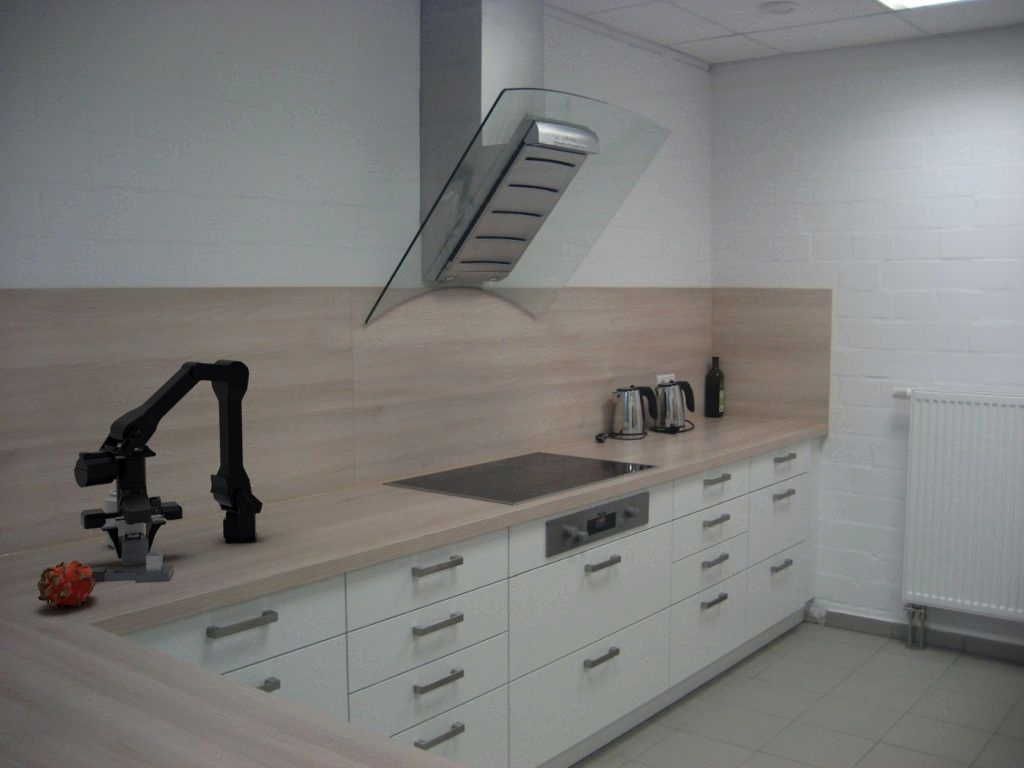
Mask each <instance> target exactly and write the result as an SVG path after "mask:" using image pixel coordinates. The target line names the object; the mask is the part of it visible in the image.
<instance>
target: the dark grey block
mask: <svg viewBox="0 0 1024 768" xmlns="http://www.w3.org/2000/svg"><path fill="white" fill-rule="evenodd" d="M119 542H120V549H121V559H119V558H118V557H117V560H118V562H119V563H120V565H122V567H127V566H135V565H136V566H137V565H141V564H142V565H143V564H146V556H147V554H148V553H149V547H148V538H147V537H146V533H145V532H144V533H141V531H127V532H125V533H124V535H123V536H119Z"/></svg>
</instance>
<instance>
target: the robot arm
mask: <svg viewBox="0 0 1024 768" xmlns="http://www.w3.org/2000/svg"><path fill="white" fill-rule="evenodd" d="M249 380H250V369H249V366H247V365H246V364H245V363H244V362H242V361H240V360H234V359H232V360H231V359H222V358H221V359H218V360H216V361H215V362H214V363H211V362H210V363H208V362H207V363H206V362H200V361H190V360H189V361H185V362H184V363H182V365H181V366H180V368H179V369H178V370H177V371H176V372H175V373H174V374H173V375H172V376H171V377H170V378H169V379H167V380H166V382H165V383H164V384H162V385H161V387H159V389H157V390H156V391H155V392H154V393H153V394H152V395H151V396H150V397H149V398H148V399H147V400H146V401H145V402H144V403H141V405H140V406H138V407H135V408H134V409H131V410H129V411H127V412H126V413H124V414H122V415H121V416H119V417H118V418H117V419H115V420H114V421H113V422H112V424H110V427H109V429H110V430H109V434H108V435H107V436H106V437H105V440H104V441H103V442H102V444H101V446H100V447H99V449H98V450H97V451H82V452H81V451H80V452H79V453H78V459H77V460H76V463H75V466H74V468H73V473H74V479H75V482H76V484H77V485H78V487H79V488H81V489H83V488H89V487H96V486H102V485H110V484H112V483H113V482H114V481H115V489H116V499H117V512H107V513H106V511H104V510H103V509H102V508H93V509H92V508H91V509H83V510H82V511H81V513H80V525H81V526H82V528H83V530H94V529H100V531H102V532H106V534H107V533H108V535H109V537H110V539H111V541H112V544H113V546H114V551H115V553H116V556H117V559H118V558H119V559H121V549H120V542H119V536H118V527H117V526H116V525H115V523H116V521H121V520H125V523H126V524H128V525H134V524H136V523H144V524H145V535H146V537H147V538H148V547H149V553H151V549H152V546H153V543H154V540H155V537H156V534H157V533H158V530H159V529H161V527H162V526H165V525H166V524H167V521H175V520H176V521H177V520H182V519H183V516H184V515H183V508H182V506H181V505H180V504H179V503H178V502H177V501H164V502H162V498H161V496H160V495H158V496H150V497H149V494H148V487H147V464H146V463H147V461H146V458H153V457H156V455H157V453H156V452H155V451H153V450H152V449H151V448H150V447H149V445H147V443H149V441H150V440H151V438H152V437H153V435H154V434H155V433H156V431H157V428H158V426H159V424H160V422H161V420H162V419H163V418H164V417H165V416H166V415H167V414H168V413H169V412H170V411H171V410H172V409H173V408H174V407H175V406H176V405H177V404H178V403H179V402H180V401H181V400H182V399H184V397H185V396H186V395H187V394H188V393H190V391H192V389H194V387H195V386H196V385H198V384H199V382H201V381H205V382H207V381H209V382H210V383H211V388H212V390H213V393H214V394H215V397H216V398H217V403H218V426H219V427H218V428H219V459H220V460H219V462H220V463H219V464H220V465H219V468H218V470H217V472H216V474H210V483H211V485H210V486H211V487H210V491H209V493H210V494H212V497H213V500H215V502H217V503H218V505H219V507H220V510H221V511H225V517H224V518H223V519H222V533H223V535H222V536H223V539H224V543H227V544H228V543H230V544H231V543H248V542H250V543H251V542H256V541H257V538H258V532H257V514H260V513H261V512H262V509H263V502H262V501H261V500H259V498H257V496H255V495H254V494H253V490H252V485H251V480H250V478H249V475H248V473H247V471H246V468H245V467H244V450H243V449H244V445H243V442H244V441H243V440H244V439H243V435H244V434H243V399H244V397H245V395H246V394H247V391H248V387H249ZM122 515H123V516H122Z"/></svg>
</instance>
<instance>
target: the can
mask: <svg viewBox="0 0 1024 768" xmlns="http://www.w3.org/2000/svg"><path fill="white" fill-rule="evenodd" d="M108 494H109V495H108V496H107V497H106V499H105V513H107V512H117V499H116V488H115V489H112V490H111V489H110V490H109V491H108ZM122 516H123V515H122ZM115 525H116V526H117V527H118V536H123V535H124V533H125V532H127V531H141V533H144V534H145V523H136V524H134V525H128V524H126V523H125V520H121V521H116V523H115ZM106 544H108V545H109V546H110V547H111V548H114V546H113V544H112V541H111V539H110V537H109V535H108V533H107V532H106Z"/></svg>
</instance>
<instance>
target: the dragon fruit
mask: <svg viewBox="0 0 1024 768" xmlns="http://www.w3.org/2000/svg"><path fill="white" fill-rule="evenodd" d="M91 568H92V567H90V566H89V564H88V565H87V564H86V565H82V562H81V561H78V560H73V561H71V562H70V563H68V562H65V561H63V562H61V563H59V564H57V565H55V566H49V567H47V568H46V569H44V570H43V572H42V573H41V575H40V579H39V580H38V582H37V588H38V591H39V596H38V600H39V601H41V602H42V601H43V602H46V606H52V607H54V608H56V609H57V610H61V609H63V608H64V607H65V606H66V605H69V606H71V607H75V606H76V607H80V606H81V605H82V603H87V602H88V599H89V598H90V594H91V593H92V592H93V590H94V588H95V586H96V585H98V582H95V578H94V577H93V575H92V573H93V571H92V569H91Z"/></svg>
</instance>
